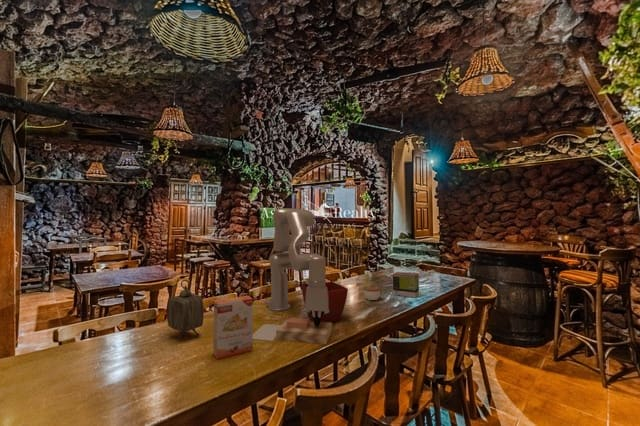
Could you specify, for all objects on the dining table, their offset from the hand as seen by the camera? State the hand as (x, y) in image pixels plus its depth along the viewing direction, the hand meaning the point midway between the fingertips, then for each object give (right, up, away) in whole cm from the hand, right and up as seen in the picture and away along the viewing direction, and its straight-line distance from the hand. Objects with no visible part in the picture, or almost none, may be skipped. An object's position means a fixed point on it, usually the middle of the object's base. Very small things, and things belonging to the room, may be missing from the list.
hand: (317, 325), depth 132 cm
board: (-6, -5, +1) cm, 7 cm away
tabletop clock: (-59, -5, 0) cm, 59 cm away
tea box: (+59, -6, +69) cm, 91 cm away
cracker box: (-33, -5, -16) cm, 36 cm away
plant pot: (+3, -5, +23) cm, 24 cm away
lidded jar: (+34, -6, +58) cm, 68 cm away
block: (-8, -1, +2) cm, 9 cm away
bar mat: (-23, -5, +5) cm, 24 cm away
